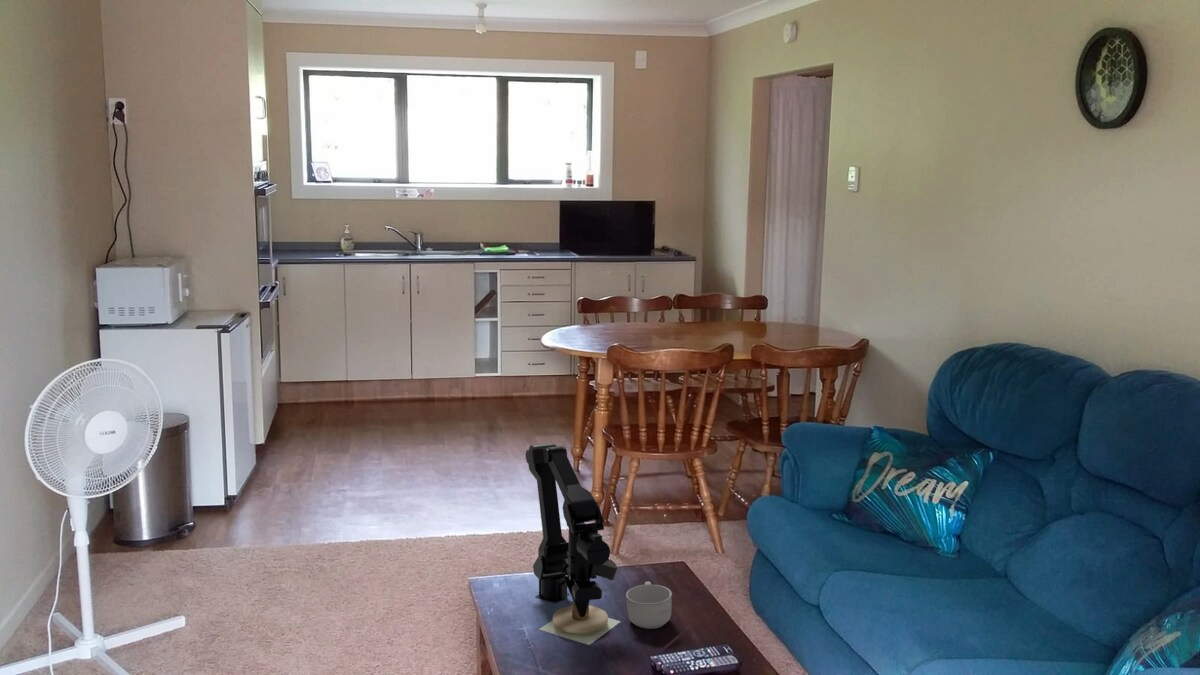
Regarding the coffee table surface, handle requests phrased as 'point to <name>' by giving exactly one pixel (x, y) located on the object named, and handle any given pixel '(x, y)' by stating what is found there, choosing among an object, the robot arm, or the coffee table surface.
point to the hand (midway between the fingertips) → (580, 612)
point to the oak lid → (580, 619)
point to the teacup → (649, 605)
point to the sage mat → (583, 638)
